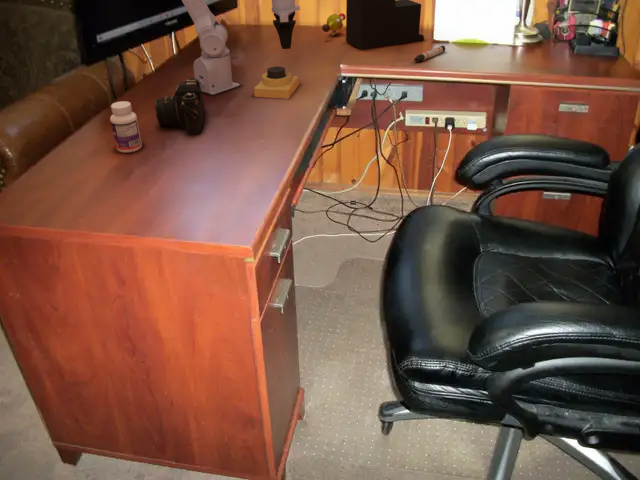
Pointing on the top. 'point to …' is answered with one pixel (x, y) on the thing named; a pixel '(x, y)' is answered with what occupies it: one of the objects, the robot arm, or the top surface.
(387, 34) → the bookend
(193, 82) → the film camera
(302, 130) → the top surface
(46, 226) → the top surface
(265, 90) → the plate
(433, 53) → the marker
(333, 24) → the toy figure
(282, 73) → the button
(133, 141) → the pill bottle
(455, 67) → the top surface
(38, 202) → the top surface
